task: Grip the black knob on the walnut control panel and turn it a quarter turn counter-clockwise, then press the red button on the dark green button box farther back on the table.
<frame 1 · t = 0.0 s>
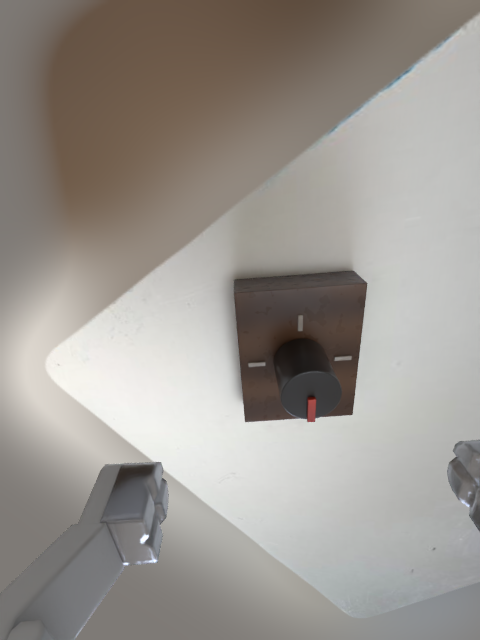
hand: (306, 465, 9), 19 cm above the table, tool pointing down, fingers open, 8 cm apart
panel: (293, 342, 30), on the table
knob: (305, 378, 25), point 5 cm above the table, hinge at 0.0°
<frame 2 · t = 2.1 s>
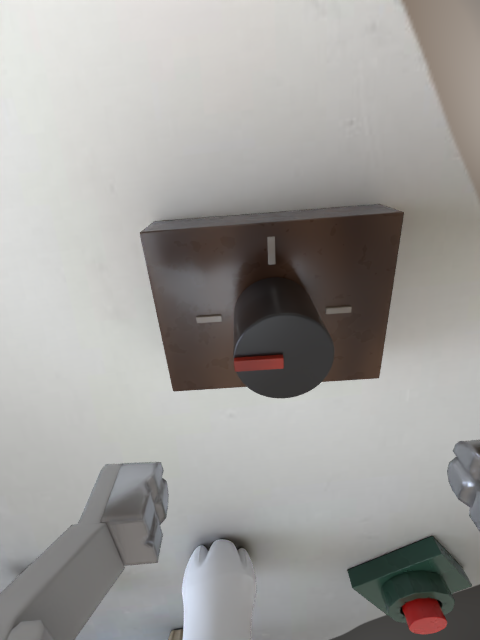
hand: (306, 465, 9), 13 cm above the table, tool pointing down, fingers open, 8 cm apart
water bottle: (220, 550, 34), on the table
handle: (181, 631, 42), on the table
button box: (405, 569, 36), on the table
button: (423, 614, 32), point 4 cm above the table, slide at 0.1 cm
panel: (268, 293, 21), on the table
knob: (278, 335, 16), point 5 cm above the table, hinge at 0.0°
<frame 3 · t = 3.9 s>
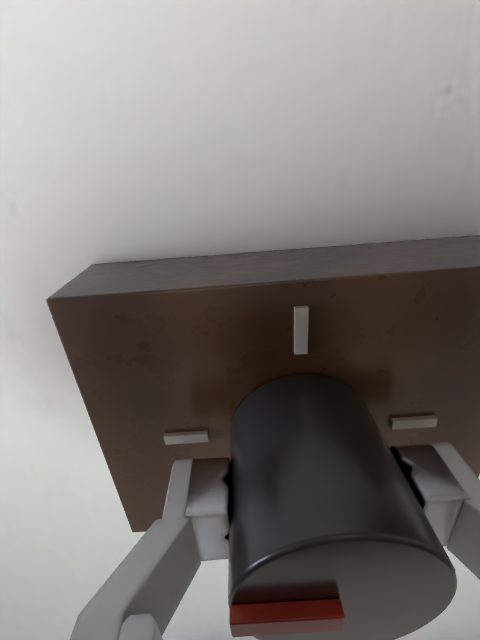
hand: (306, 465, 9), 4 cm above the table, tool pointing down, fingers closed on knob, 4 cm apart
panel: (285, 372, 13), on the table
knob: (316, 501, 8), point 5 cm above the table, hinge at 0.0°, touching gripper
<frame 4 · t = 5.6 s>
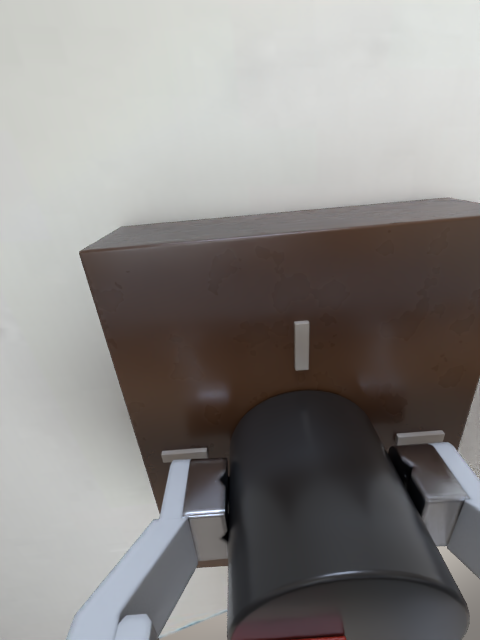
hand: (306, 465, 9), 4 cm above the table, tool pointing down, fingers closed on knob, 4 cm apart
panel: (286, 384, 13), on the table
knob: (319, 524, 8), point 5 cm above the table, hinge at 91.3°, touching gripper
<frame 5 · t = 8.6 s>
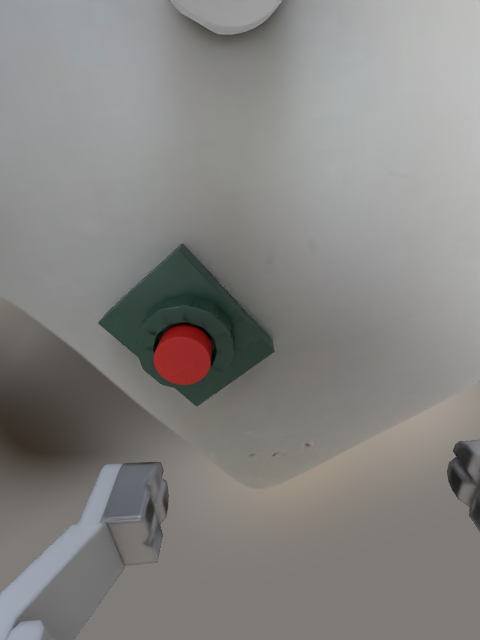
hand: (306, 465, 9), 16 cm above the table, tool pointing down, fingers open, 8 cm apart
button box: (191, 326, 25), on the table
button: (184, 354, 21), point 4 cm above the table, slide at 0.1 cm
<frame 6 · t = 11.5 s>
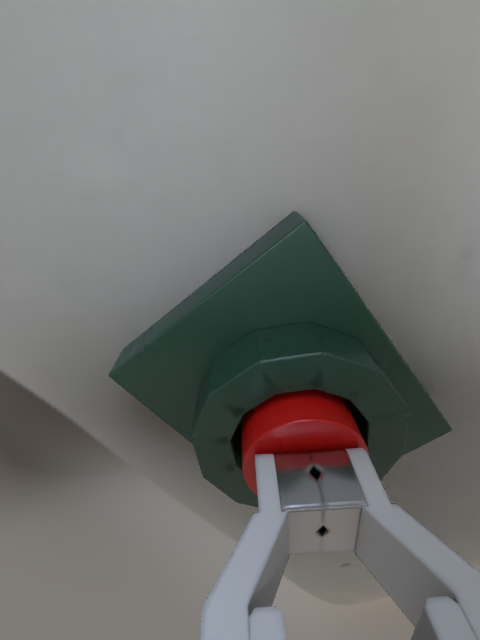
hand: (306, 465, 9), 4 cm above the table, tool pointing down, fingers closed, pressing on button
button box: (284, 376, 13), on the table
button: (300, 443, 10), point 3 cm above the table, slide at -0.4 cm, touching gripper
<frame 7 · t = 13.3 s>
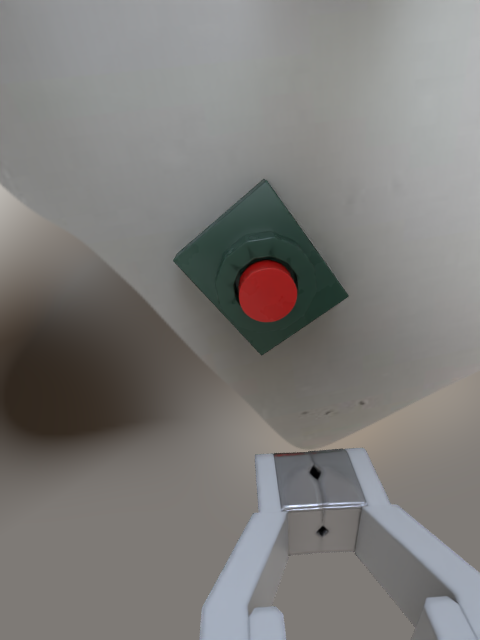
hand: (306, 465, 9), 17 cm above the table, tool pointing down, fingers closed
button box: (261, 271, 24), on the table
button: (266, 291, 21), point 4 cm above the table, slide at 0.1 cm
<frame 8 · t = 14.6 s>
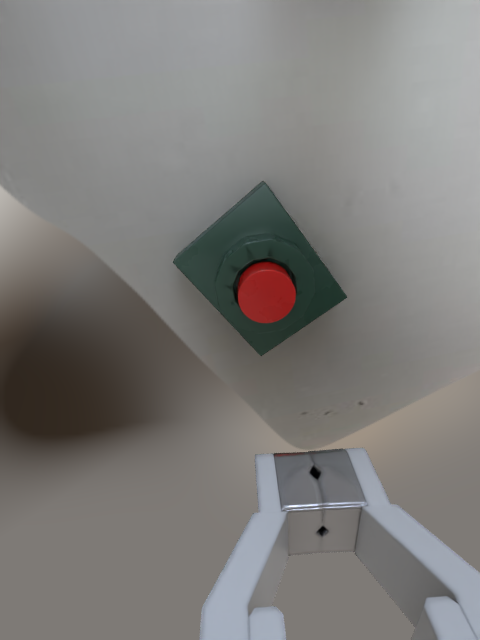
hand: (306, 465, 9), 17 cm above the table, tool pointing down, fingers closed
button box: (260, 272, 24), on the table
button: (265, 292, 21), point 4 cm above the table, slide at 0.1 cm
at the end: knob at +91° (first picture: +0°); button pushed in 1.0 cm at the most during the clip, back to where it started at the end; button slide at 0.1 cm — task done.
